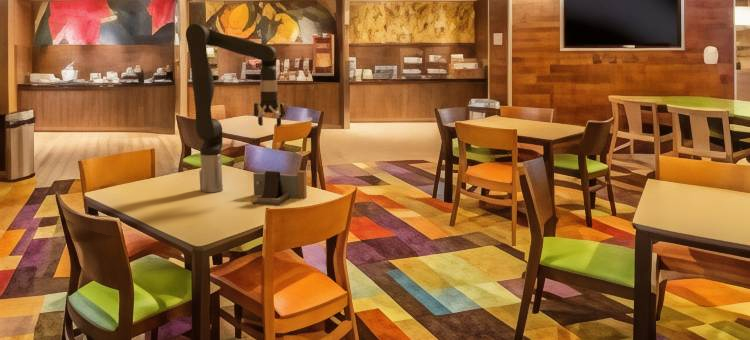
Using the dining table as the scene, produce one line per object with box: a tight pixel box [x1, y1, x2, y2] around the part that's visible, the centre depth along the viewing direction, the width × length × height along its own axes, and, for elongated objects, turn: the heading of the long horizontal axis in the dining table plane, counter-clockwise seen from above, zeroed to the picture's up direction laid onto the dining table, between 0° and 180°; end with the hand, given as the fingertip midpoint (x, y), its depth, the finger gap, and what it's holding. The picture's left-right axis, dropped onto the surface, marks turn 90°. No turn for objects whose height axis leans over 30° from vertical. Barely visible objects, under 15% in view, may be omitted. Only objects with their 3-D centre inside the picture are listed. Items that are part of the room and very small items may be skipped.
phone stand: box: [263, 170, 283, 199], centre depth 270 cm, size 9×6×12 cm, turn 166°
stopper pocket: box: [252, 193, 292, 206], centre depth 269 cm, size 12×14×2 cm
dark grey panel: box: [253, 170, 308, 200], centre depth 276 cm, size 24×4×12 cm, turn 77°
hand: (269, 125), depth 283 cm, fingers open, 8 cm apart
